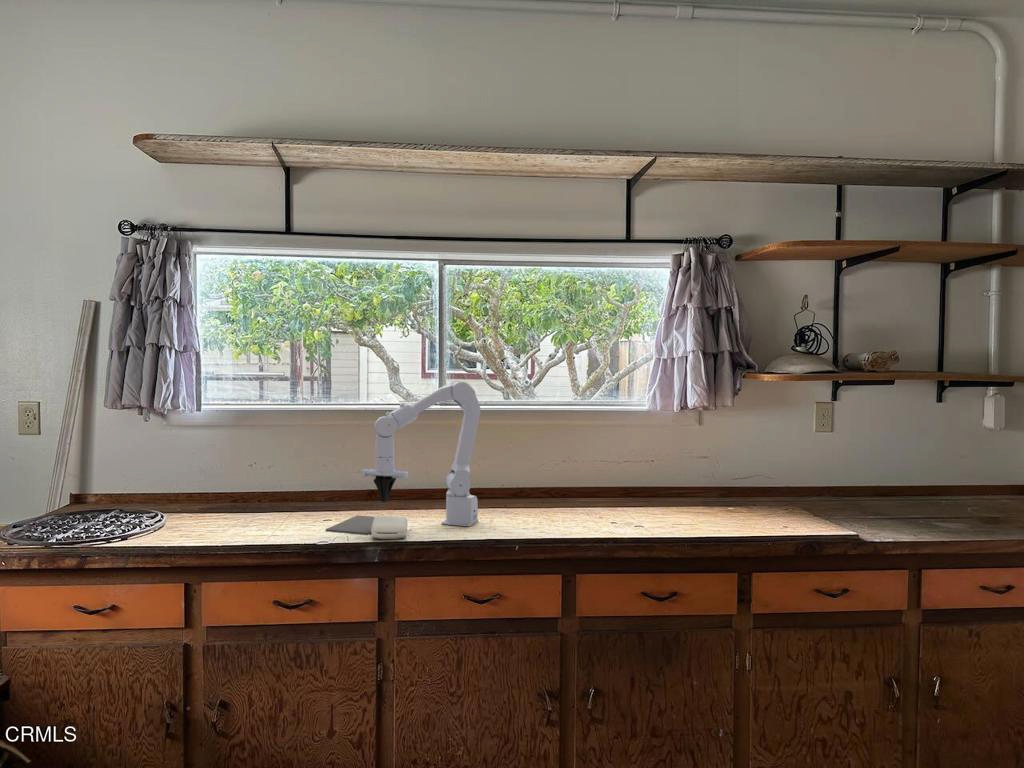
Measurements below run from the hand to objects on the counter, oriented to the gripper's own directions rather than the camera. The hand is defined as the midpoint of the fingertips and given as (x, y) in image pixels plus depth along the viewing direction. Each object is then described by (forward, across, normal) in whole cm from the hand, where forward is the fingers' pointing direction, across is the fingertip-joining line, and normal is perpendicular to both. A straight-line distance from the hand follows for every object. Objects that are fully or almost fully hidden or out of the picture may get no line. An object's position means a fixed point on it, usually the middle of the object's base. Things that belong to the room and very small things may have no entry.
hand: (384, 501), depth 190 cm
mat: (+8, -8, 0) cm, 11 cm away
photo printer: (+6, +3, -2) cm, 7 cm away
